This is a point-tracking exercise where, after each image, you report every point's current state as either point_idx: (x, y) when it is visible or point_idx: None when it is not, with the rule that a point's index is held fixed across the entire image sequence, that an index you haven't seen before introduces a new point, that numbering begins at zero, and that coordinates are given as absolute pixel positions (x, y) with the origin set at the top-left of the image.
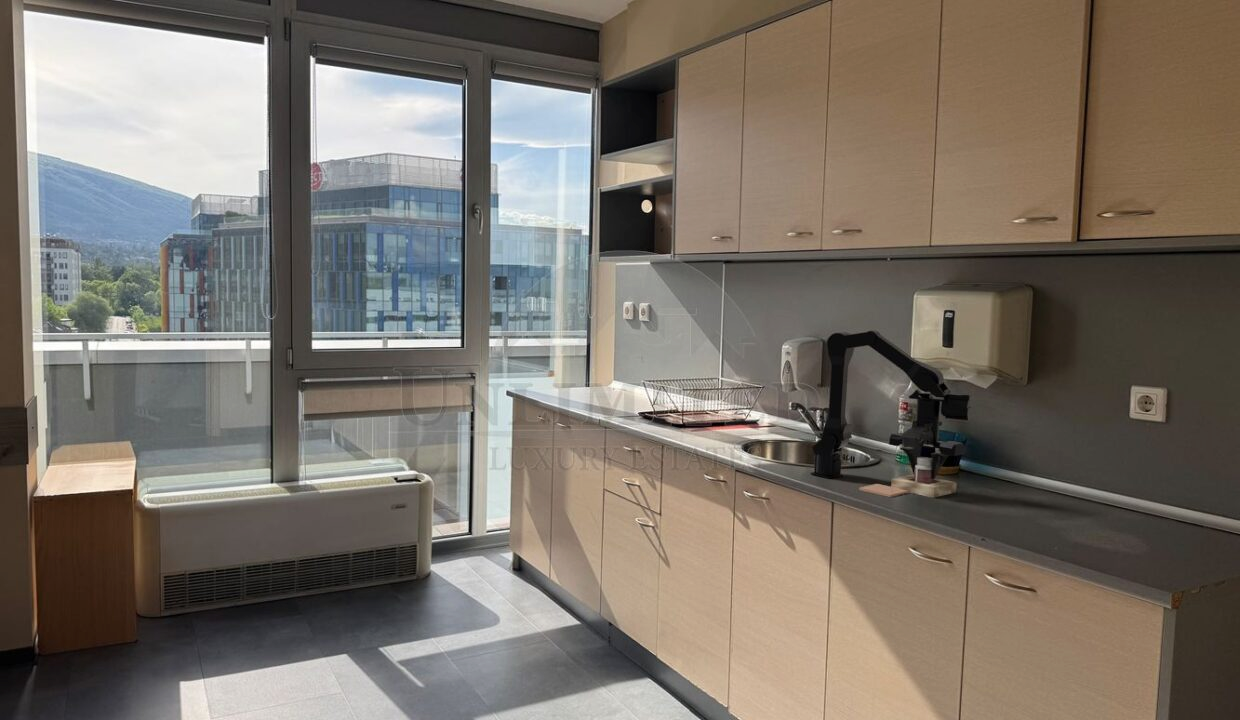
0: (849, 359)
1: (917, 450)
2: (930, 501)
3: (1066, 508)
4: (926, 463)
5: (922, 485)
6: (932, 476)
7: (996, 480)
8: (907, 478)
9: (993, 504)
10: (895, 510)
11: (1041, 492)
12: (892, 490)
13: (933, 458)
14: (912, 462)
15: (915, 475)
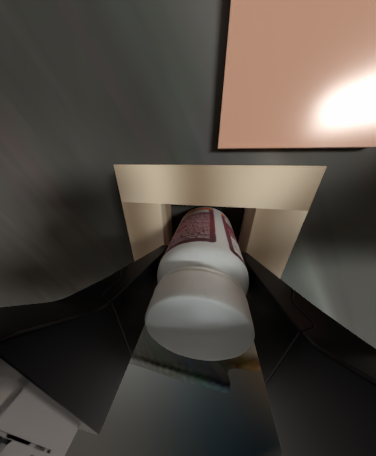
0: None
1: (299, 439)
2: (102, 100)
3: (16, 287)
4: (165, 278)
5: (161, 165)
6: (161, 247)
7: (169, 362)
8: (263, 232)
9: (46, 229)
10: None
11: None
12: (269, 76)
13: (80, 309)
14: (273, 288)
15: (227, 232)
